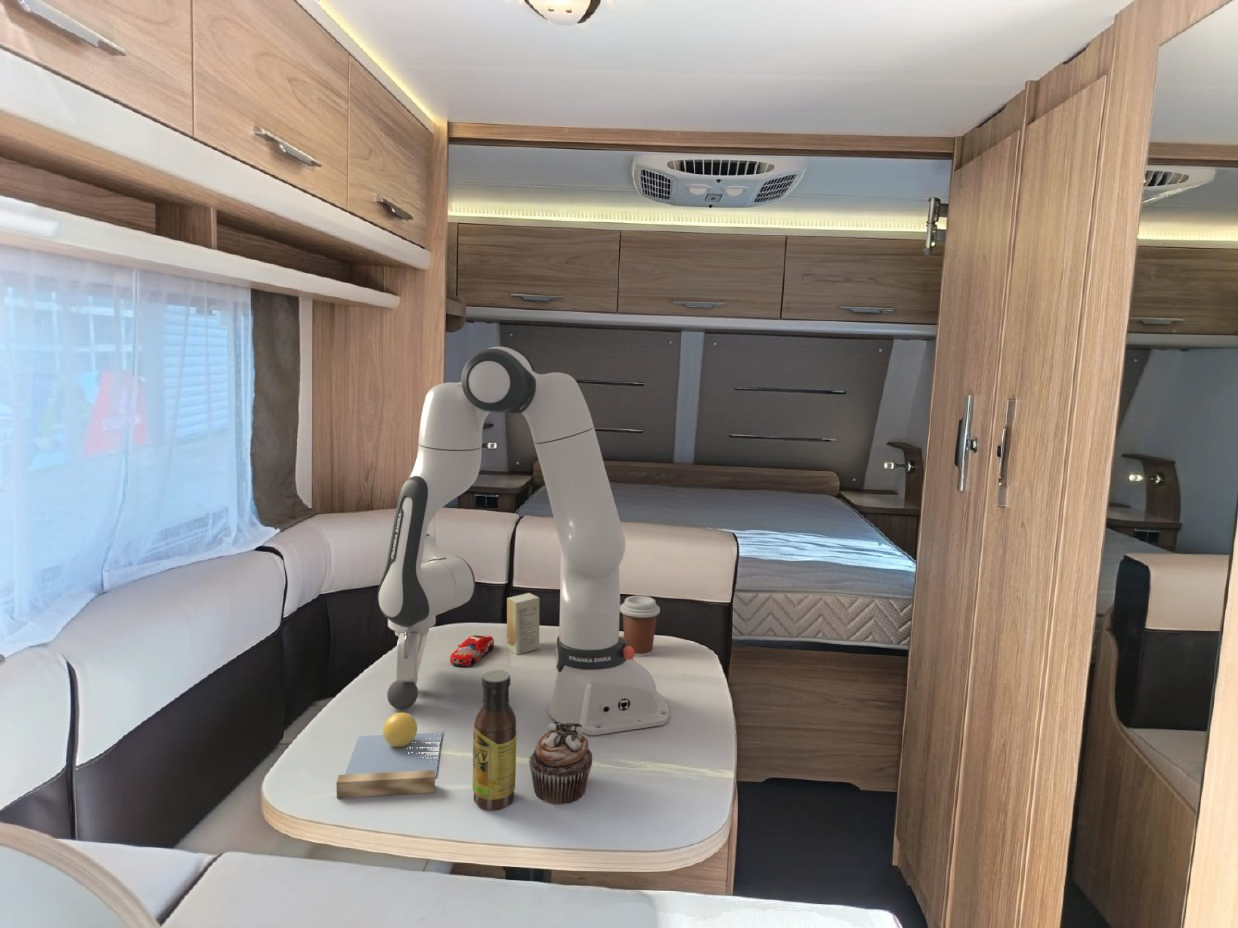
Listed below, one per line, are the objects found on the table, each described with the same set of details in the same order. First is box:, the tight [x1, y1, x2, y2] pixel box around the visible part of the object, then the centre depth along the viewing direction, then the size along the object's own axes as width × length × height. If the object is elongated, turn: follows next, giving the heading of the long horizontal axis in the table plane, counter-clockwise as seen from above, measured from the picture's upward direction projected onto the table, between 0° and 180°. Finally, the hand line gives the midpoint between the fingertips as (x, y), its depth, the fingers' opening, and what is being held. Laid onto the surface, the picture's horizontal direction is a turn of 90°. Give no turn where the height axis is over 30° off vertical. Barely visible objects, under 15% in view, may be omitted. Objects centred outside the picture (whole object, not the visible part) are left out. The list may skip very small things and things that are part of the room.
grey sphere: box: [386, 679, 419, 710], centre depth 139 cm, size 6×6×6 cm
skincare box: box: [506, 592, 540, 656], centre depth 168 cm, size 6×4×12 cm
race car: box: [449, 634, 495, 667], centre depth 164 cm, size 13×5×4 cm, turn 160°
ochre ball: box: [382, 712, 418, 747], centre depth 126 cm, size 6×6×6 cm
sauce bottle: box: [472, 669, 517, 811], centre depth 110 cm, size 6×6×20 cm
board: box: [344, 731, 444, 779], centre depth 123 cm, size 14×14×1 cm
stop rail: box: [336, 770, 436, 799], centre depth 113 cm, size 14×2×2 cm, turn 99°
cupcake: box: [528, 720, 593, 805], centre depth 115 cm, size 10×10×10 cm
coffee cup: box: [620, 595, 661, 658], centre depth 170 cm, size 9×9×12 cm
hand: (412, 684), depth 146 cm, fingers closed
